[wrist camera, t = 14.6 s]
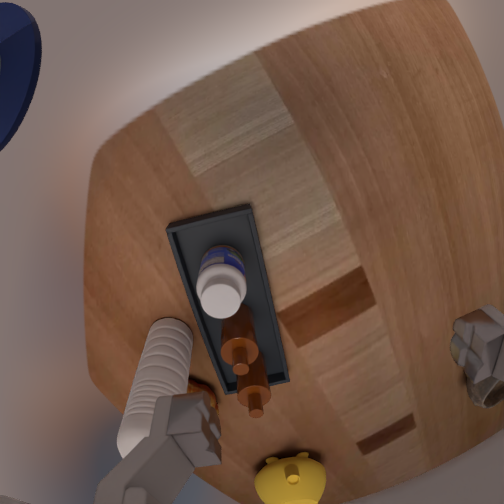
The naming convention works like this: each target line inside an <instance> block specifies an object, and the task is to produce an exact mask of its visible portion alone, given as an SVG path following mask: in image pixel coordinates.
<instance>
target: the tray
mask: <svg viewBox="0 0 504 504" xmlns="http://www.w3.org/2000/svg"><path fill="white" fill-rule="evenodd" d="M166 232H167V236H168V239H169V242H170V245H171V248H172V251H173V255H174V258H175V261H176V264H177V267H178V270H179V273H180V276H181V279H182V282H183V285H184V287H185V290H186V293H187V296H188V299H189V302H190V305H191V307H192V310H193V313H194V316H195V319H196V321H197V324H198V327H199V329H200V332H201V335H202V337H203V340H204V343H205V345H206V348H207V350H208V353H209V356H210V358H211V361H212V363H213V366H214V368H215V371H216V373H217V376H218V378H219V381H220V383H221V386H222V388H223V390H224V393H225V395H227V394H233V393H237V382H236V374H235V373H234V372H233V367H232V365H230V364H228V363H226V362H225V361H224V360H223V358H222V356H221V318H214V317H212V316H210V315H208V314H207V313H206V312H205V311H204V310H203V308H202V306H201V301H200V299H199V297H198V295H197V290H196V285H197V279H198V275H199V270H200V266H201V261H202V258H203V256H204V254H205V253H206V252H207V251H208V250H209V249H210V248H212V247H214V246H218V245H227V246H231V247H233V248H234V249H236V250H237V251H238V252H239V253H240V254H241V256H242V258H243V261H244V267H245V276H246V286H247V290H246V295H245V297H244V299H243V301H242V302H241V303H242V304H245V305H247V306H248V307H249V308H250V309H251V310H252V312H253V317H254V323H255V330H256V336H257V343H258V349H259V351H261V352H262V353H263V355H264V357H265V363H266V368H267V374H268V380H269V386H273V385H277V384H282V383H286V382H290V379H289V374H288V370H287V365H286V360H285V356H284V351H283V346H282V342H281V337H280V333H279V328H278V324H277V319H276V315H275V310H274V306H273V301H272V296H271V292H270V287H269V283H268V279H267V274H266V270H265V265H264V261H263V256H262V252H261V247H260V243H259V238H258V234H257V230H256V225H255V221H254V216H253V212H252V208H251V205H250V204H245V205H241V206H237V207H233V208H228V209H224V210H220V211H216V212H212V213H208V214H204V215H200V216H196V217H192V218H188V219H184V220H180V221H176V222H173V223H169V225H168V226H167V228H166Z"/></svg>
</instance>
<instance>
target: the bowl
mask: <svg viewBox="0 0 504 504" xmlns="http://www.w3.org/2000/svg"><path fill="white" fill-rule="evenodd" d="M467 391H468V394H469V397H470V399H471V400H472V401H473V403H474V405H475V406H480V407H483V408H491V407H493V406H495V405H497V404H498V403H500V402H501V401H502V400H503V399H504V381H501V380H499V379H497V378H495V377H493V376H492V375H491V376H489V377H487V378H486V379H484V380H482V381H480V382H478V383H476V384H473V383H472V381H471V380H470V379H469V378H468V377H467Z"/></svg>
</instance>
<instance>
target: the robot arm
mask: <svg viewBox="0 0 504 504" xmlns="http://www.w3.org/2000/svg"><path fill="white" fill-rule="evenodd" d="M0 69H1V59H0ZM453 331H454V332H455V334H454V336H453V337H452V339H451V342H450V351H451V355H452V358H453V360H454V361H455V362H456V363H457V365H460V366H463V367H464V373H465V374H466V375H467V377H468V378H469V379H470V380H471V381H472V383H473V384H476V383H478V382H480V381H482V380H484V379H486V378H487V377H489V376H491V375H492V376H493V377H495V378H497V379H499V380H501V381H504V315H503V314H502V313H501V312H500V311H499V310H497V309H496V308H495V307H494V306H492V305H490V304H487V305H485V306H483V307H481V308H479V309H477V310H475V311H473V312H470V313H468V314H466V315H464V316H462V317H459V318H457V319H456V320H455V322H454V324H453ZM220 436H221V426H220V420H219V417H218V414H217V411H216V409H215V408H214V407H212V406H211V399H210V397H209V395H208V393H207V392H206V391H201V392H193V393H185V394H176V395H169V396H159V397H158V398H157V400H156V404H155V409H154V413H153V418H152V423H151V428H150V434H149V437H144V438H143V439H142V440H141V441H140V442H139V443H138V444H137V445H136V446H135V447H134V448H133V449H132V450H131V451H130V452H129V453H128V454H127V455H126V456H125V457H124V458H123V459H122V461H120V462H119V463H118V464H117V465H116V466H115V467H114V468H113V469H112V470H111V471H110V472H109V473H108V474H107V475H106V476H105V477H104V479H102V480H101V481H100V482H99V483H98V486H97V490H96V493H95V498H94V503H93V504H172V503H173V501H174V500H175V498H176V497H177V495H178V494H179V492H180V491H181V489H182V488H183V486H184V485H185V483H186V482H187V480H188V479H189V477H190V476H191V474H192V473H193V471H194V470H195V468H194V467H202V466H211V465H218V464H221V446H220V444H219V442H218V439H219V438H220ZM0 504H29V503H26V502H23V501H19V500H17V499H14V498H11V497H7V496H3V495H0ZM342 504H504V428H503V429H502V430H501V431H499V432H497V433H496V434H494V435H493V436H491V437H490V438H488V439H487V440H485V441H483V442H482V443H480V444H478V445H477V446H475V447H473V448H472V449H470V450H468V451H466V452H465V453H463V454H461V455H459V456H457V457H456V458H454V459H452V460H450V461H448V462H446V463H444V464H442V465H440V466H438V467H436V468H434V469H432V470H430V471H428V472H425V473H423V474H421V475H419V476H417V477H414V478H412V479H410V480H407V481H405V482H402V483H400V484H398V485H395V486H392V487H390V488H387V489H385V490H382V491H379V492H376V493H373V494H370V495H368V496H365V497H361V498H358V499H355V500H352V501H349V502H345V503H342Z"/></svg>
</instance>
